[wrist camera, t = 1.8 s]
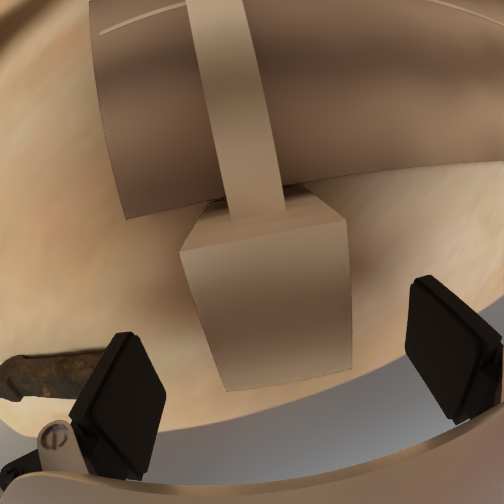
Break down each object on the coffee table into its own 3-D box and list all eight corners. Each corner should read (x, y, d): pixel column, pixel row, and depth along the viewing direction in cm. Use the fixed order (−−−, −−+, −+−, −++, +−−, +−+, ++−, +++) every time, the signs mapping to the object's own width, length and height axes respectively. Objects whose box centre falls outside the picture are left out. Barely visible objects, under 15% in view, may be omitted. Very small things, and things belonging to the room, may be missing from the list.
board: (107, 16, 11) (88, 0, 8) (485, 7, 9) (505, 0, 7) (143, 208, 15) (125, 220, 13) (517, 155, 14) (540, 160, 11)
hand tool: (135, 333, 18) (112, 379, 14) (156, 375, 20) (141, 422, 15) (-9, 341, 19) (-33, 367, 15) (10, 372, 21) (-11, 399, 16)
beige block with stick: (169, 15, 11) (124, -50, 5) (261, -4, 11) (271, -81, 4) (232, 304, 17) (226, 392, 11) (316, 288, 17) (351, 369, 10)
